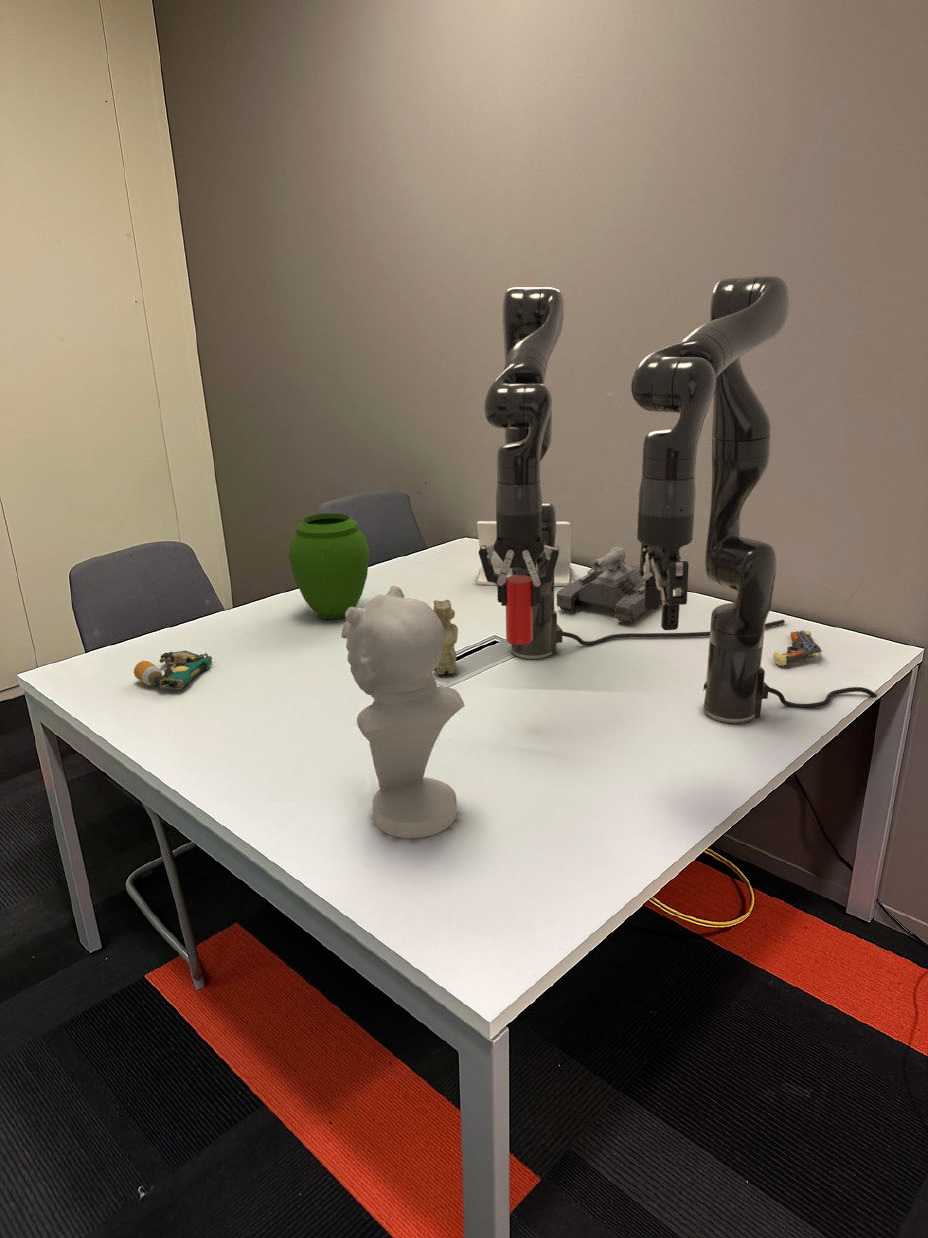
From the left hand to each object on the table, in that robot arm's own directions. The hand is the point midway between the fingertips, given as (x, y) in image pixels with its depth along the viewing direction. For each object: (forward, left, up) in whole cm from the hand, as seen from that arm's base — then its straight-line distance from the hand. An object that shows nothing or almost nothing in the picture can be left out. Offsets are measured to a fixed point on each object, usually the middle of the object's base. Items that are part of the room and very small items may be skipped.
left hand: (519, 604), depth 147 cm
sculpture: (+9, -28, -24) cm, 38 cm away
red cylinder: (0, 0, -7) cm, 7 cm away
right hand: (-14, +27, +6) cm, 31 cm away
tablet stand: (-24, -86, -24) cm, 93 cm away
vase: (+30, -69, -24) cm, 79 cm away
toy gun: (-66, -18, -24) cm, 72 cm away
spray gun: (+64, -40, -24) cm, 79 cm away
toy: (-40, -56, -24) cm, 73 cm away
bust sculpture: (+25, +21, -24) cm, 40 cm away
